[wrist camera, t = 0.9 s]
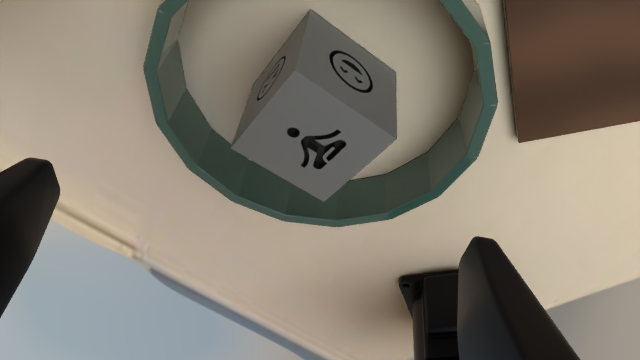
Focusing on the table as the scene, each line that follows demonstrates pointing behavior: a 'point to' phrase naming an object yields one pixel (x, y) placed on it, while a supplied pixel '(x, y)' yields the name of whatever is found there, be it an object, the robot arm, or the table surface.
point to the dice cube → (319, 110)
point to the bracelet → (284, 197)
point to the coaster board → (572, 65)
